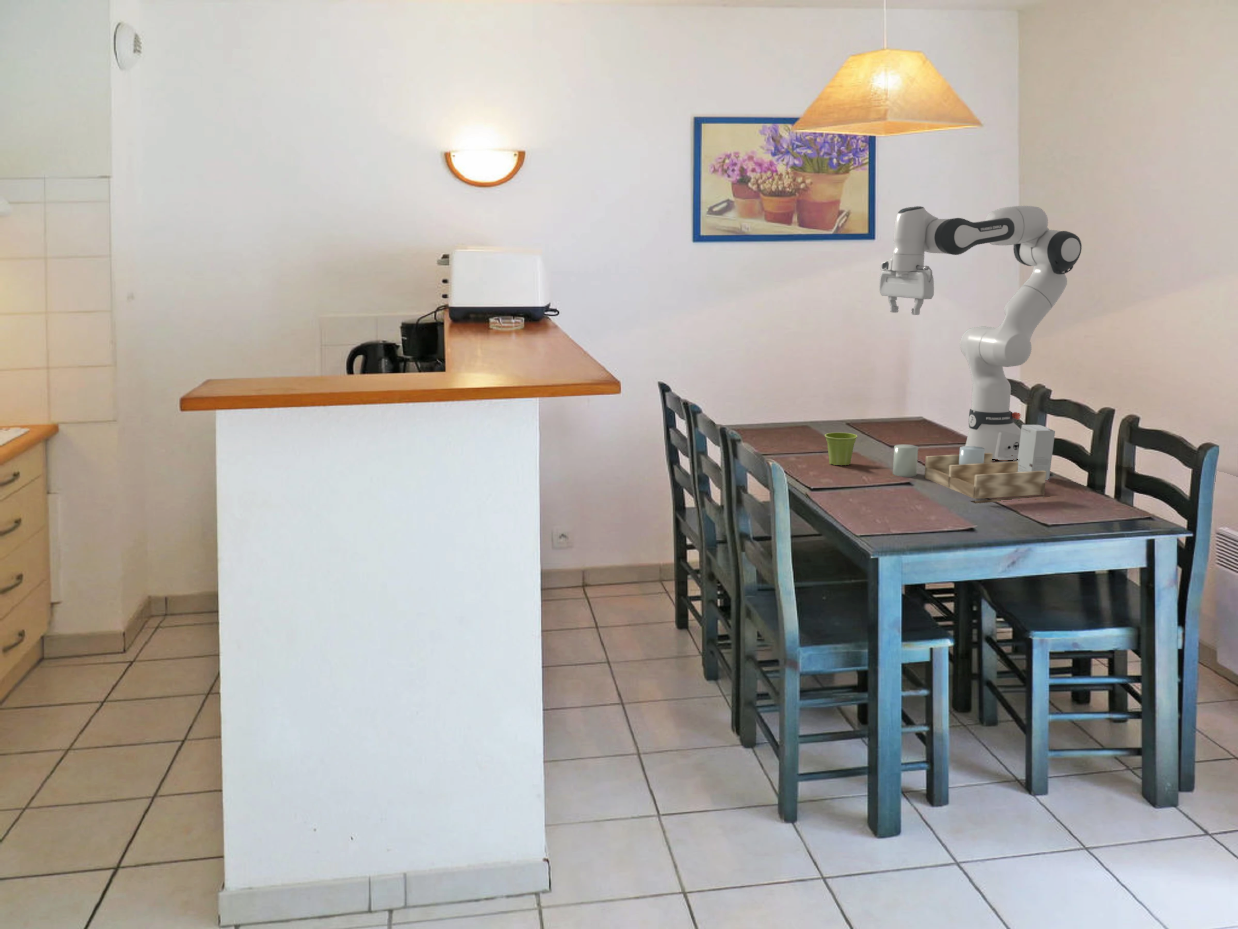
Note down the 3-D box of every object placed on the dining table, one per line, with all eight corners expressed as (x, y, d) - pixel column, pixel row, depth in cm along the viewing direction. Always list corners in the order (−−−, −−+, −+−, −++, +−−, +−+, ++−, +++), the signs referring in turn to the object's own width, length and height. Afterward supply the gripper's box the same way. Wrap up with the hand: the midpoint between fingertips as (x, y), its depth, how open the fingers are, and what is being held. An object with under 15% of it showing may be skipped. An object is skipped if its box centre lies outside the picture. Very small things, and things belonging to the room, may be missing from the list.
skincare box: (1015, 476, 312) (1019, 424, 309) (1034, 475, 314) (1039, 423, 310) (1031, 483, 304) (1035, 429, 301) (1051, 482, 305) (1055, 429, 302)
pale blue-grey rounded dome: (973, 477, 305) (976, 445, 304) (987, 482, 299) (989, 449, 297) (953, 478, 304) (955, 446, 302) (966, 484, 298) (968, 451, 296)
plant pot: (856, 468, 323) (857, 438, 321) (823, 466, 325) (824, 437, 323) (856, 461, 332) (857, 433, 330) (823, 460, 334) (825, 431, 332)
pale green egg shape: (909, 475, 314) (910, 444, 312) (920, 480, 308) (922, 448, 306) (888, 476, 312) (890, 445, 310) (899, 481, 306) (901, 449, 304)
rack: (988, 478, 310) (990, 452, 309) (1043, 498, 287) (1046, 471, 285) (924, 482, 305) (925, 456, 304) (975, 503, 282) (977, 475, 280)
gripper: (941, 265, 310) (937, 315, 313) (894, 263, 328) (891, 310, 331) (923, 266, 307) (919, 316, 310) (876, 263, 326) (874, 311, 328)
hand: (904, 313), depth 321 cm, fingers open, 8 cm apart
